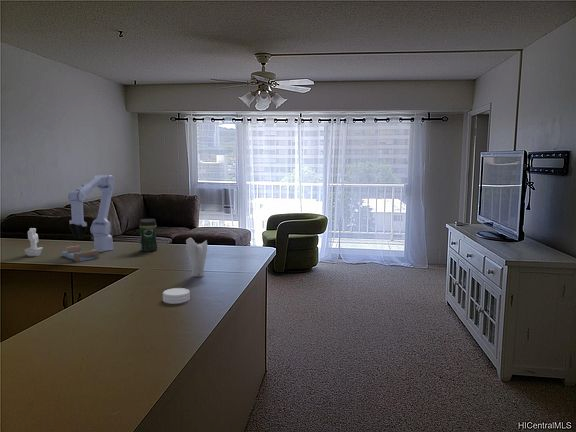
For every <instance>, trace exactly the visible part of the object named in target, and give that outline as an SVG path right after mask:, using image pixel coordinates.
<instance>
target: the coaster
mask: <svg viewBox="0 0 576 432" xmlns="http://www.w3.org/2000/svg"><path fill="white" fill-rule="evenodd" d="M190 293H191V291H190V290H189V289H188V288H183V287H173V288H168V289H166V290H164V291H163V292H162V301H163V303H165V304H171V305H172V304H173V305H177V304H184V303H187V302H188V301H190V299H191V296H190V295H191V294H190Z"/></svg>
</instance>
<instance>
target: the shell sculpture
mask: <svg viewBox="0 0 576 432" xmlns="http://www.w3.org/2000/svg"><path fill="white" fill-rule="evenodd" d="M185 243H186V245H185V248H186V253H187V256H188V258H189V262H190V264H191V266H192V272H191V277H195V278H200V277H203V276H204V275H205V270H204V267H205V263H206V257H207V254H208V240H207V239H205V240H204V241H203V242H201V243H197V242H195V240H194V239H193V238H192V237H189V238H187V239H186V240H185Z"/></svg>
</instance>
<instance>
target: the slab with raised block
mask: <svg viewBox="0 0 576 432" xmlns="http://www.w3.org/2000/svg"><path fill="white" fill-rule="evenodd" d="M81 247H82V246H81V245H77V244H76V245H72V246H66V248H65V251H61V256H62V257H65V258H67V253H72V252H79V251H84V250H82V248H81Z"/></svg>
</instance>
